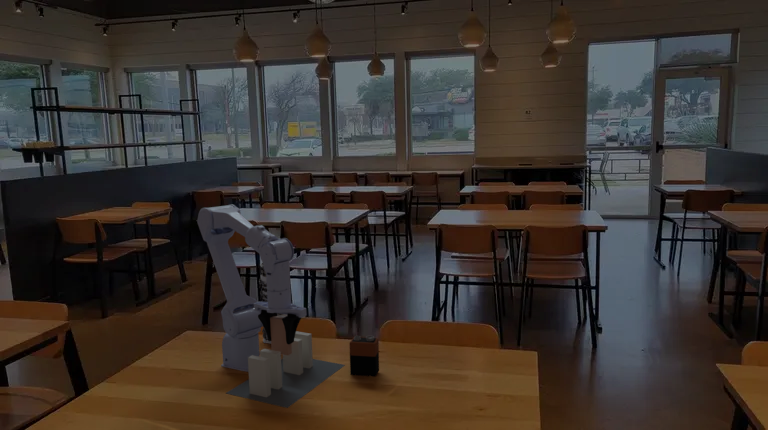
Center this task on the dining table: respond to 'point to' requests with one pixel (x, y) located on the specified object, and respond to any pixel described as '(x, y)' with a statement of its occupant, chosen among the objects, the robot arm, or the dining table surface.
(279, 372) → the domino
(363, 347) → the battery
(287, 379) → the mat
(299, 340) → the domino
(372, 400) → the dining table surface
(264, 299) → the decorative candle
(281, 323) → the domino
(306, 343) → the domino
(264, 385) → the domino
